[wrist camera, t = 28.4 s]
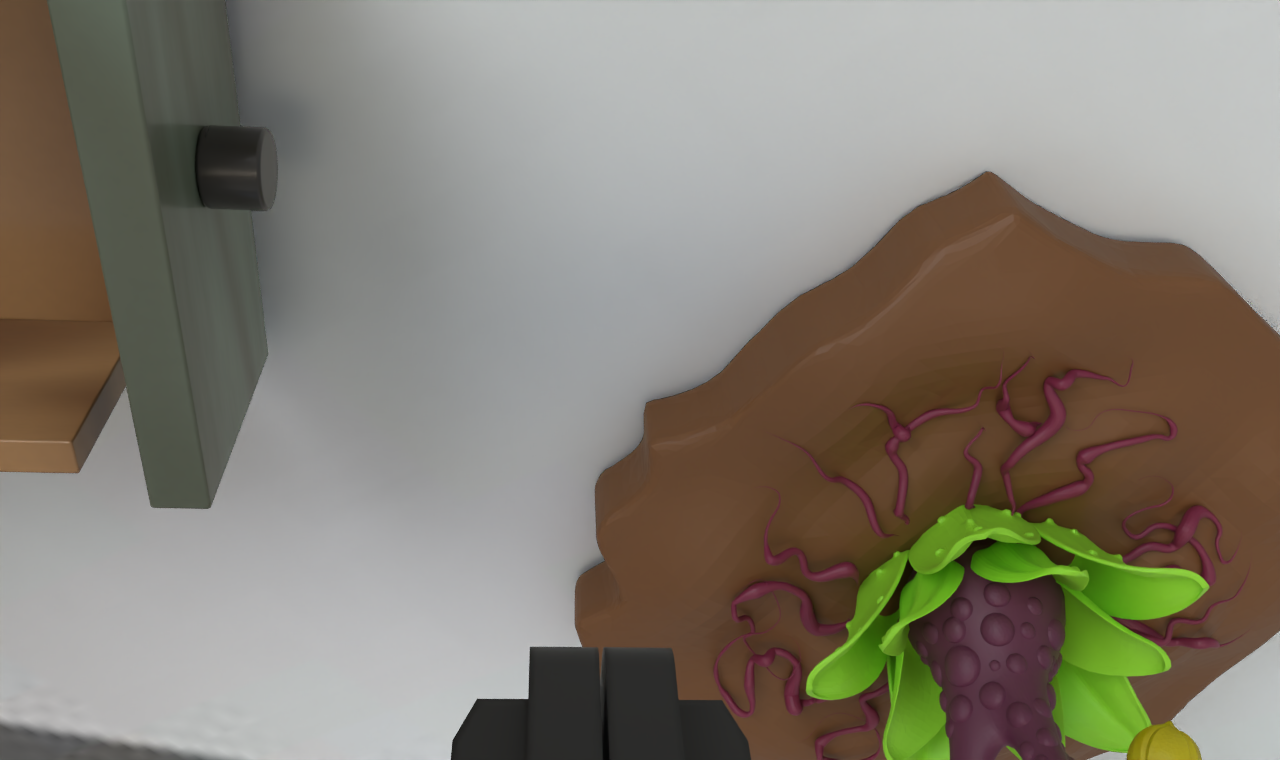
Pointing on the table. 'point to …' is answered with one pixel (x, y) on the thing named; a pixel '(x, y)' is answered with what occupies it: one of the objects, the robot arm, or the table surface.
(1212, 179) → the table surface
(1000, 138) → the table surface
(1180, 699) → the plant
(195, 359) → the drawer
